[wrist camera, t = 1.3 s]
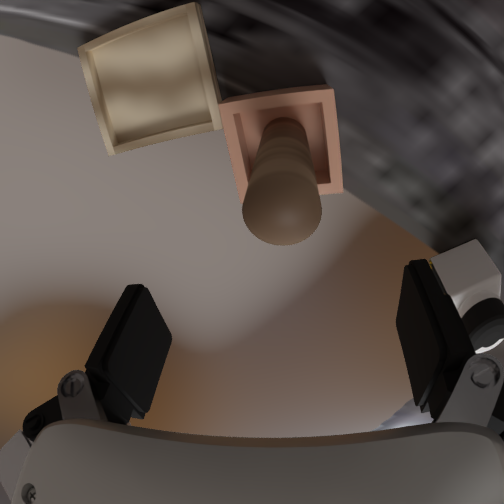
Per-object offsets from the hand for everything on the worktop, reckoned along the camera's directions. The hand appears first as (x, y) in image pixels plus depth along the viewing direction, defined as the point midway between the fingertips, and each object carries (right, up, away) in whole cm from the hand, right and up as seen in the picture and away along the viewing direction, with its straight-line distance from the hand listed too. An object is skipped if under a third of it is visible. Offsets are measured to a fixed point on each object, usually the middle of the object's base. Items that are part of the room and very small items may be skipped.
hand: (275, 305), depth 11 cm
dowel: (+2, +12, +16) cm, 20 cm away
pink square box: (+2, +13, +17) cm, 21 cm away
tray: (-10, +18, +14) cm, 25 cm away
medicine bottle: (+25, 0, +23) cm, 34 cm away
